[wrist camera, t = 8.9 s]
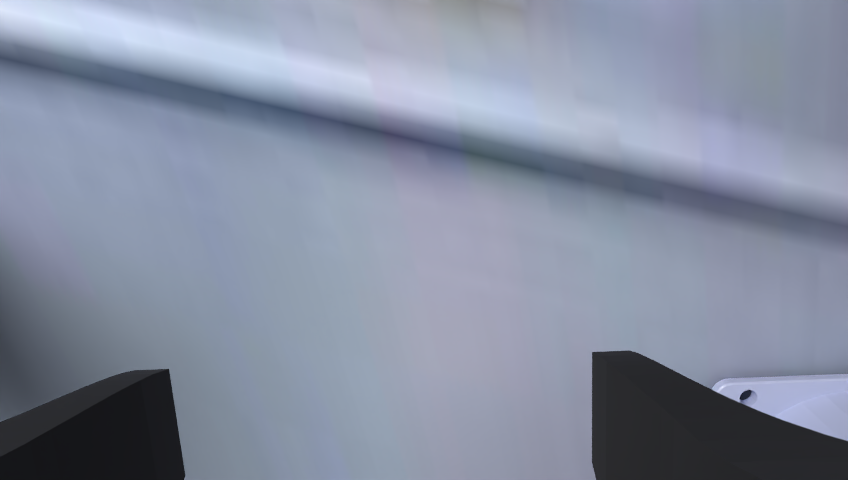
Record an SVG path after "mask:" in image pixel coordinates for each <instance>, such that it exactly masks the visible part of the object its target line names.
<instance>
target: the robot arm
mask: <svg viewBox="0 0 848 480" xmlns="http://www.w3.org/2000/svg"><path fill="white" fill-rule="evenodd" d="M746 390H752V393H751V396H750V397H748V398H747V399H745V400H740V399H739V398H740V395H741V394H742V393H743V392H744V391H746ZM592 464H593V468H594V472H595V476H596V480H848V374H829V375H803V376H776V377H750V378H727V379H723V380H720V381H719V382H717V383H716V384H715V385H714V386H713V388H712V390H711V389H709V388H707V387H705V386H703V385H701V384H699V383H697V382H695V381H693V380H691V379H689V378H687V377H685V376H683V375H681V374H679V373H677V372H675V371H673V370H671V369H669V368H667V367H665V366H664V365H662V364H660V363H658V362H656V361H654V360H651V359H649V358H647V357H645V356H643V355H641V354H638V353H636V352H632V351H609V352H592ZM184 478H185V471H184V465H183V458H182V452H181V445H180V439H179V432H178V426H177V419H176V413H175V406H174V400H173V393H172V387H171V380H170V374H169V369H158V370H134V371H130V372H125V373H121V374H118V375H115V376H112V377H109V378H106V379H104V380H101V381H99V382H96V383H94V384H91V385H89V386H86V387H84V388H81V389H79V390H76V391H74V392H72V393H69V394H67V395H65V396H62V397H60V398H58V399H55V400H53V401H51V402H48V403H46V404H44V405H41V406H39V407H37V408H34V409H32V410H30V411H27V412H25V413H22V414H20V415H17V416H15V417H12V418H10V419H7V420H5V421H2V422H0V480H184Z"/></svg>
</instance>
